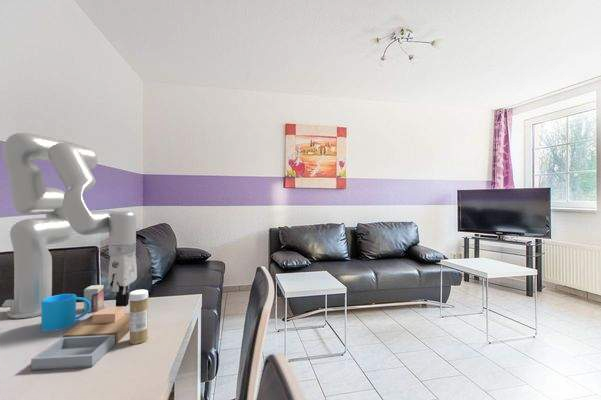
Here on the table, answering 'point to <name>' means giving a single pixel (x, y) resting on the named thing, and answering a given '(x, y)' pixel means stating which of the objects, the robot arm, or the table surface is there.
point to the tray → (73, 352)
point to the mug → (60, 311)
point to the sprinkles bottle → (138, 316)
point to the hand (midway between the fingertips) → (122, 305)
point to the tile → (108, 314)
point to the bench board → (102, 328)
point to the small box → (94, 297)
